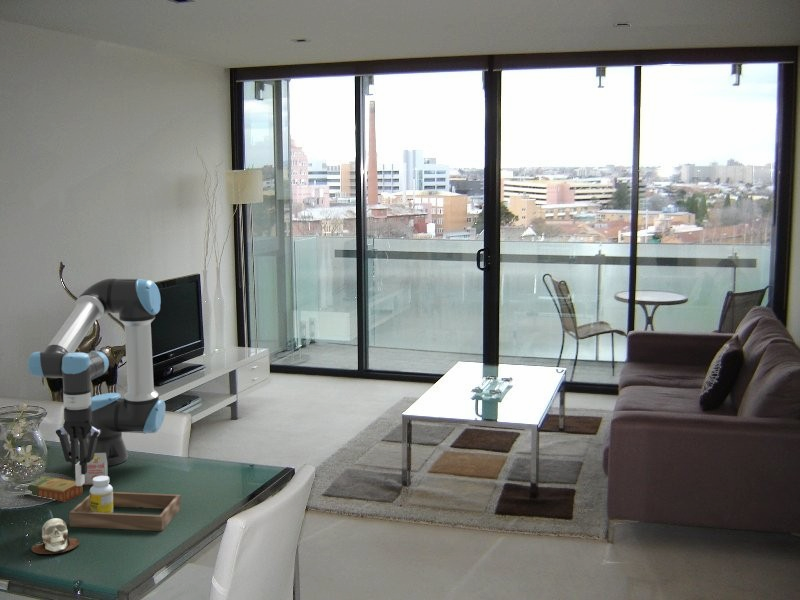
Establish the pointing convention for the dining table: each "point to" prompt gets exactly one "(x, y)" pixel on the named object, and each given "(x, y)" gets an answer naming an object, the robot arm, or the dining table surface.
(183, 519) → the dining table surface
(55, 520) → the skull
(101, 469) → the white red printed box
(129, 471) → the dining table surface
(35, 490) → the carton
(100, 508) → the pill bottle
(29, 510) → the dining table surface
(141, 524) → the walnut frame
